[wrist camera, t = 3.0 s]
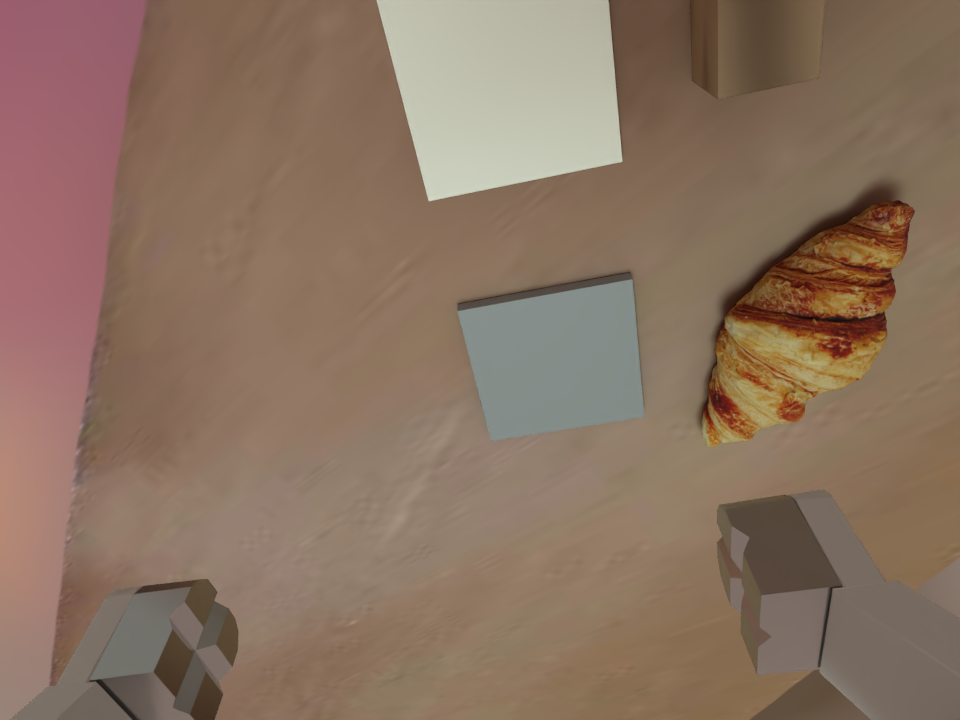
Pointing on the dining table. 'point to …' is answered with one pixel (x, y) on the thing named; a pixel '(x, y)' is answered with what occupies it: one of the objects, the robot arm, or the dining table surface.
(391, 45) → the pad
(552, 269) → the dining table surface
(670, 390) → the dining table surface
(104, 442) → the dining table surface
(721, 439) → the croissant
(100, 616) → the robot arm
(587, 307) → the pad
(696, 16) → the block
